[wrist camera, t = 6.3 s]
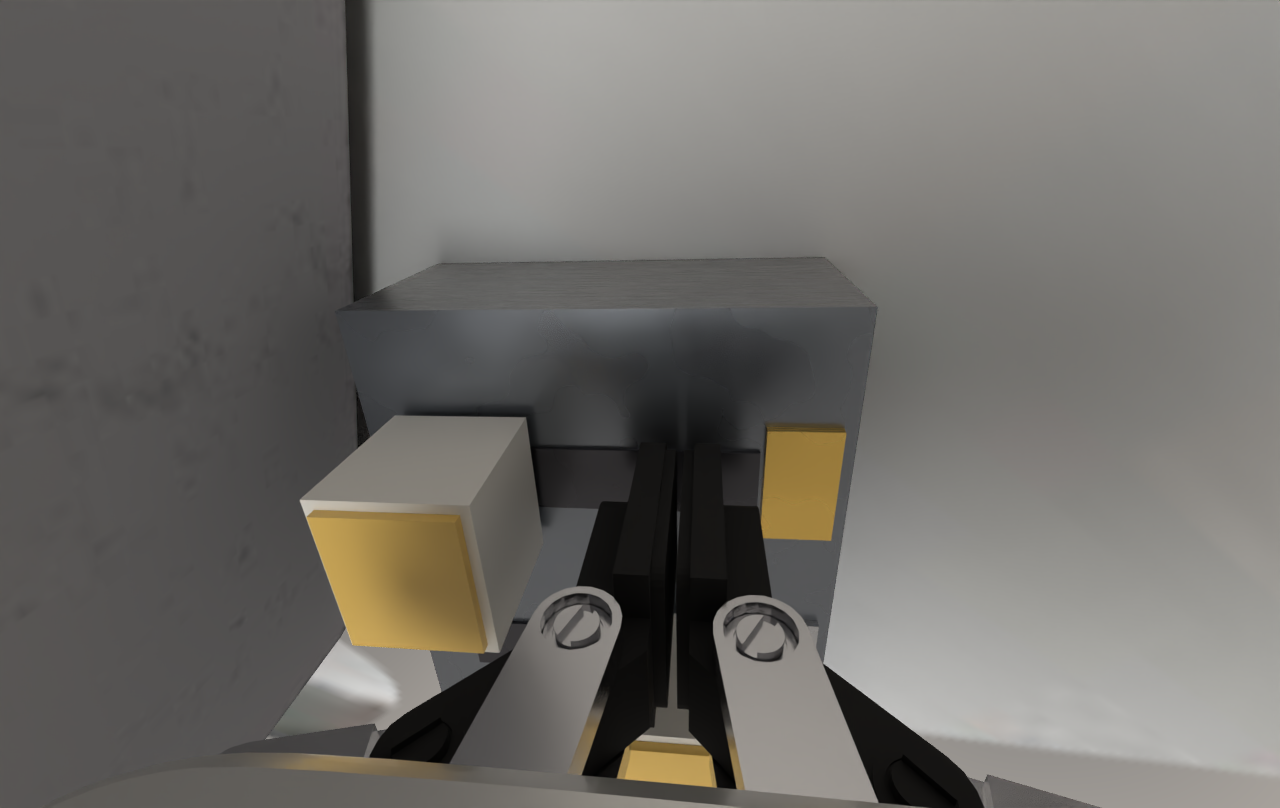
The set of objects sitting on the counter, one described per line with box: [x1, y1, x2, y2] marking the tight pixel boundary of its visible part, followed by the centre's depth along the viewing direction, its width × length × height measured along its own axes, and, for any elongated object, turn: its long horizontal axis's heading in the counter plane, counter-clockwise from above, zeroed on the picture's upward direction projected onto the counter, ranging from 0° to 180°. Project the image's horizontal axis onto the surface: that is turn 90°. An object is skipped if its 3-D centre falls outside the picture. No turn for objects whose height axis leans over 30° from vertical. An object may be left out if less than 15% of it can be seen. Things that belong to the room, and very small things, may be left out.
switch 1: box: [300, 415, 544, 654], centre depth 11 cm, size 3×3×3 cm
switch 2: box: [625, 613, 712, 787], centre depth 13 cm, size 3×3×3 cm
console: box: [335, 257, 878, 691], centre depth 17 cm, size 11×19×5 cm, turn 2°
